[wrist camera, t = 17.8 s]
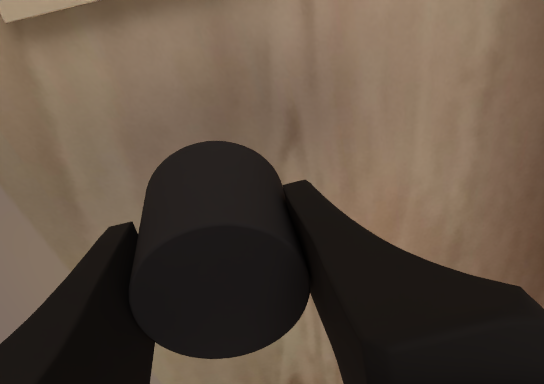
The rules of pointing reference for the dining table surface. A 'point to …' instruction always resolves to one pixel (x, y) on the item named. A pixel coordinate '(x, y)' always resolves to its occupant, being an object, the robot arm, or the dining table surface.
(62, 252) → the dining table surface
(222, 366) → the dining table surface
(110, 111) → the dining table surface
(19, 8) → the face board
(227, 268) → the dot
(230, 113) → the dining table surface
